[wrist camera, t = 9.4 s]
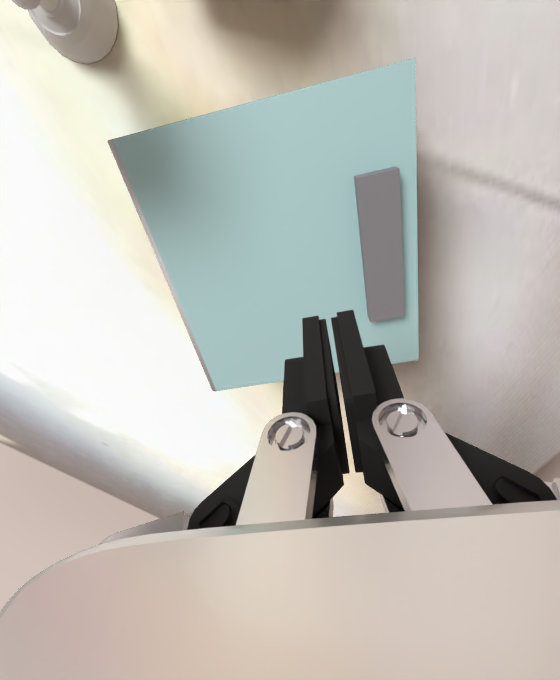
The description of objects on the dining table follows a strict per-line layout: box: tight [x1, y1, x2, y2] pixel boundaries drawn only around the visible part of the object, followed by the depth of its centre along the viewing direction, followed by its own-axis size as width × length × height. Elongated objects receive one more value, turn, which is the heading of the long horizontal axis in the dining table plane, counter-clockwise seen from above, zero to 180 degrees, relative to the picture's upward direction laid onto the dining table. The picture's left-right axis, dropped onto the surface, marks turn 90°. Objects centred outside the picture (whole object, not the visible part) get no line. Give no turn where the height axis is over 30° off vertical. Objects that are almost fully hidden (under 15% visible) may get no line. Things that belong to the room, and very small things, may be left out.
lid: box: [108, 58, 419, 391], centre depth 20 cm, size 14×16×2 cm
